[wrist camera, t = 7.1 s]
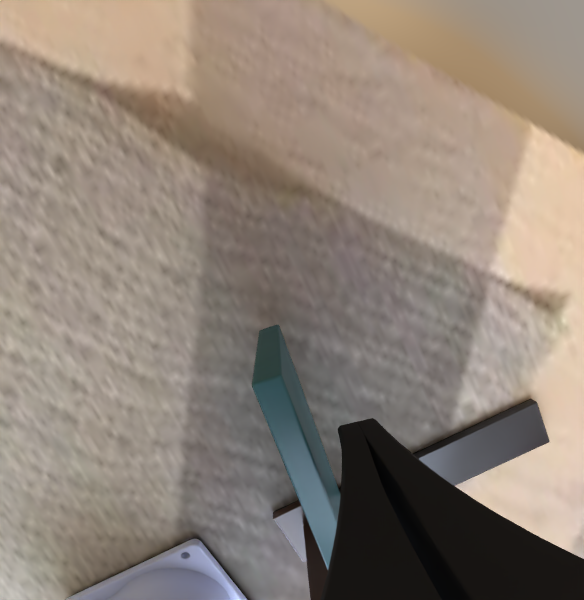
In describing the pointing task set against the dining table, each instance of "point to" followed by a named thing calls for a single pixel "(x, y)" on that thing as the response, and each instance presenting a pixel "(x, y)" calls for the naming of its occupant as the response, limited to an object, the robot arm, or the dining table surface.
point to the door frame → (445, 462)
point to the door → (296, 437)
